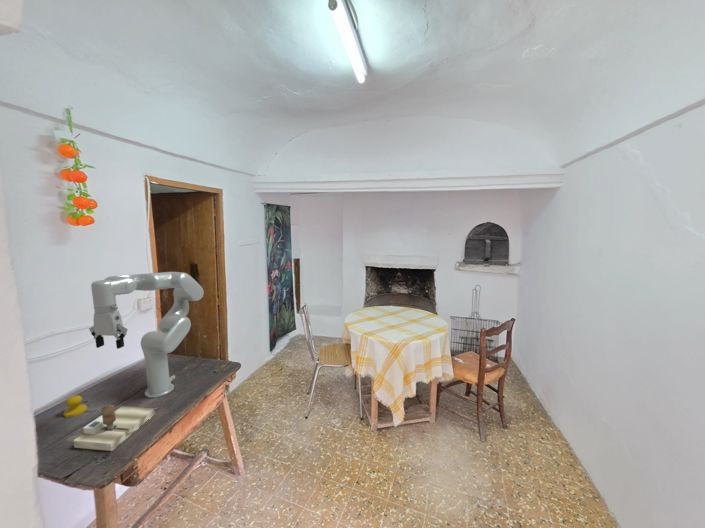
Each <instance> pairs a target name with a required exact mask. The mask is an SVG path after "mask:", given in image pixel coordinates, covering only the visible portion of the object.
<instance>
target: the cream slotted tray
mask: <svg viewBox="0 0 705 528" xmlns="http://www.w3.org/2000/svg"><path fill="white" fill-rule="evenodd" d="M155 412H156V411H155V408H153V407H150V408H149V407H139V406H138V407H136V406H124V405H121V406H120V407H119V408H118V409H116V410H115V417H116V420H115V421H114V422H113V424H114V429H113V430H111V431H107V425H106V426H105V427H103V428H102V429H101V430H99V431H98V432H97V433H95V434H85V433H84V432H83V433H82V434H80V435H79V436H77V437H76V438H75V439H74V440H72V441H73V447H74V449H75V448H77V449H85V450H86V449H87V450H88V449H89V450H96V451H97V450H98V451H108V452H109V451H110V452H112V451H113V450H115V449H116V448H117V447H118V446H119V445H121V444H122V443H123V442H124V441H125V440H127V439H128V438H129V437H130V436H132V435H133V434H134V433H135V432H136V431H137V430H138V429H140V428H141V427H142V426H143V425H144V424H146V423H147V422H148V421H149V420H151V419H152V418H153V417H154V416H155V415H156V413H155ZM154 414H155V415H154ZM153 415H154V416H153ZM152 416H153V417H152ZM151 417H152V418H151ZM148 419H149V420H148ZM147 420H148V421H147ZM146 421H147V422H146ZM145 422H146V423H145ZM141 425H142V426H141ZM140 426H141V427H140ZM139 427H140V428H139ZM134 431H135V432H134ZM133 432H134V433H133ZM132 433H133V434H132Z"/></svg>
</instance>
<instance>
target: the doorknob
mask: <svg viewBox="0 0 705 528" xmlns="http://www.w3.org/2000/svg"><path fill="white" fill-rule="evenodd" d="M82 401H83V397H82V395H81V396H80V395H79V394H77V395H72V396H70V397H68V398H67V399H66V401H65V405H66V406H67V407H68V408H67V409H65V411H64V412H63V417H65V418H73V417H76V416H80V415H81V414H83V413H84V412H86V411H87V409H88V406H87V405H86V404H81V403H82Z"/></svg>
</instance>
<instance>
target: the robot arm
mask: <svg viewBox="0 0 705 528" xmlns="http://www.w3.org/2000/svg"><path fill="white" fill-rule="evenodd" d="M90 286H91V287H90V288H91V294H92V303H93V310H94V313H93V326H91V327H90V328H88V329H89V332H90V334H91V336H93V339H95V348H97V349H98V348H100V347H103V346H105V339H104V336H108V337H109V336H111V337H114V338H115V339H116V340H115V345H116V349H117V350H118V349H122V348H124V346H125V340H124V339H125V337H126V335H127V332H128V329H129V328H126V327H125V326H124V324H123V319H122V316H121V313H120V311H119V310H118V308H119V307H118V305H117V299H116V298H117V297H116V296H121V295H127V294H128V295H129V294H131V293H133V292H134V291H146V292H147V291H158V290H166V289H173V292H172V293H173V305H172V306H171V308H170V309H169V310H168V311H167V313H165V314H164V315H163V317H162V318H161V320H160V321H159V322H158V325H157V326H158V327H157V328H158V329H159V331H156V330H153V331H148V332H146V333H145V334H144V335H143V336H142V337H141V340H140V348H141V349H142V353H143V357H144V364H145V374H146V383H147V389H146V390H144V396H145V397H146V398H150V399H153V398H154V399H155V398H159V397H163V396H166V395H168V394H169V393H172V391H173V390H174V387H175V386H174V384H173V383H172V381H174V380H175V379H176V375H171V376H170V372H169V371H170V370H169V362H168V360H169V359H168V354H169V353H172V352H174V351H175V350H176V349H177V348H178V346H179V345H180V344H181V342H182V341H183V340H184V339H185V337H186V336H187V335H188V333H190V329H191V327H192V323H191V322H192V321H191V320H190V318H189V317H188V316H187V315H188V314H189V311H190V304H189V301H192V302H197V301H200V300H201V299H202V298H203V297H204V295H205V294H204V293H205V292H204V289H203V287H202V285H200V284H199V282H198V281H196V279H194V278H193V276H191V275H190V274H188V273H187V272H181V271H180V272H179V271H163V272H151V273H137V274H136V273H135V274H120V275H119V274H118V275H110V276H107V277H106V278H105V279H101V280H99V279H98V280H95V281H93V282H91V285H90Z"/></svg>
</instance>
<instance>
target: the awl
mask: <svg viewBox="0 0 705 528" xmlns="http://www.w3.org/2000/svg"><path fill="white" fill-rule="evenodd" d="M115 411H116V410H115V405H113V404H109V405H105V406H103V407H102V408H101V415H102V417H103V424H105V425H107V431H111V430H113V429H114V424H113V422H114V421H115V420H116V417H115Z"/></svg>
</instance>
